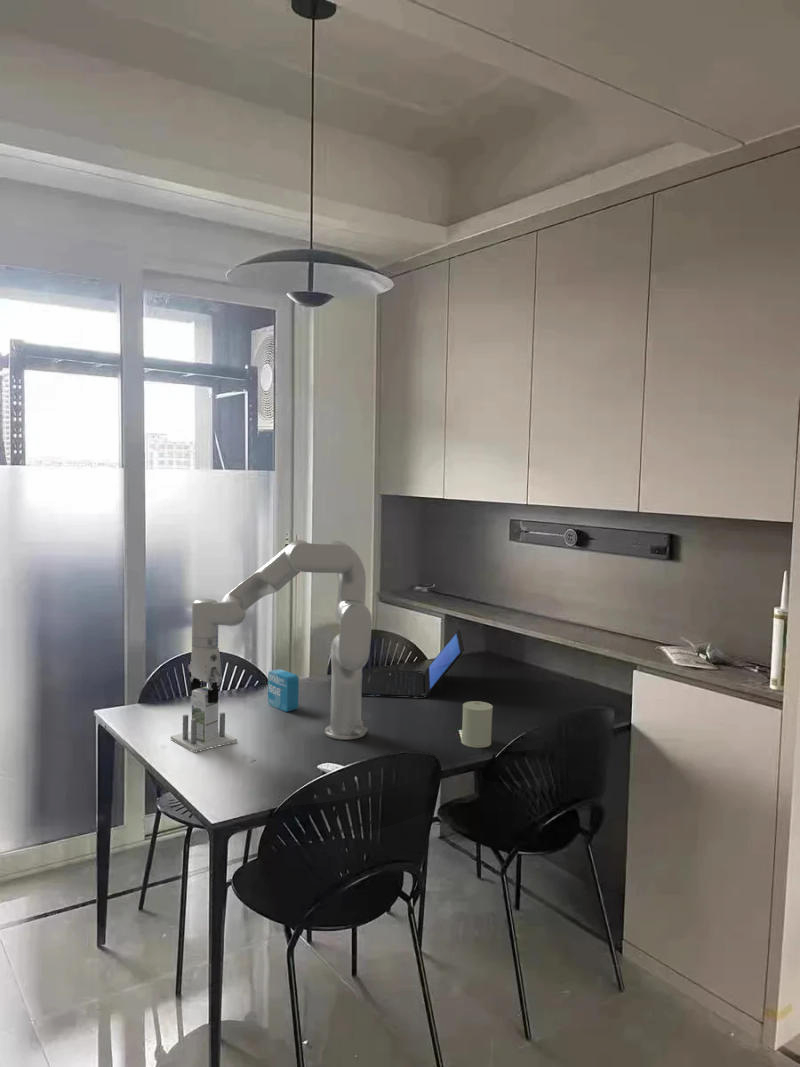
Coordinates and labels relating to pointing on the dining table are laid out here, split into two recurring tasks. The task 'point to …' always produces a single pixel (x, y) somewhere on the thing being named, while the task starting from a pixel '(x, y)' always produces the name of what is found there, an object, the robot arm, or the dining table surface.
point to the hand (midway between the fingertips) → (204, 698)
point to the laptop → (413, 675)
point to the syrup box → (204, 714)
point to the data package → (283, 690)
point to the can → (477, 724)
